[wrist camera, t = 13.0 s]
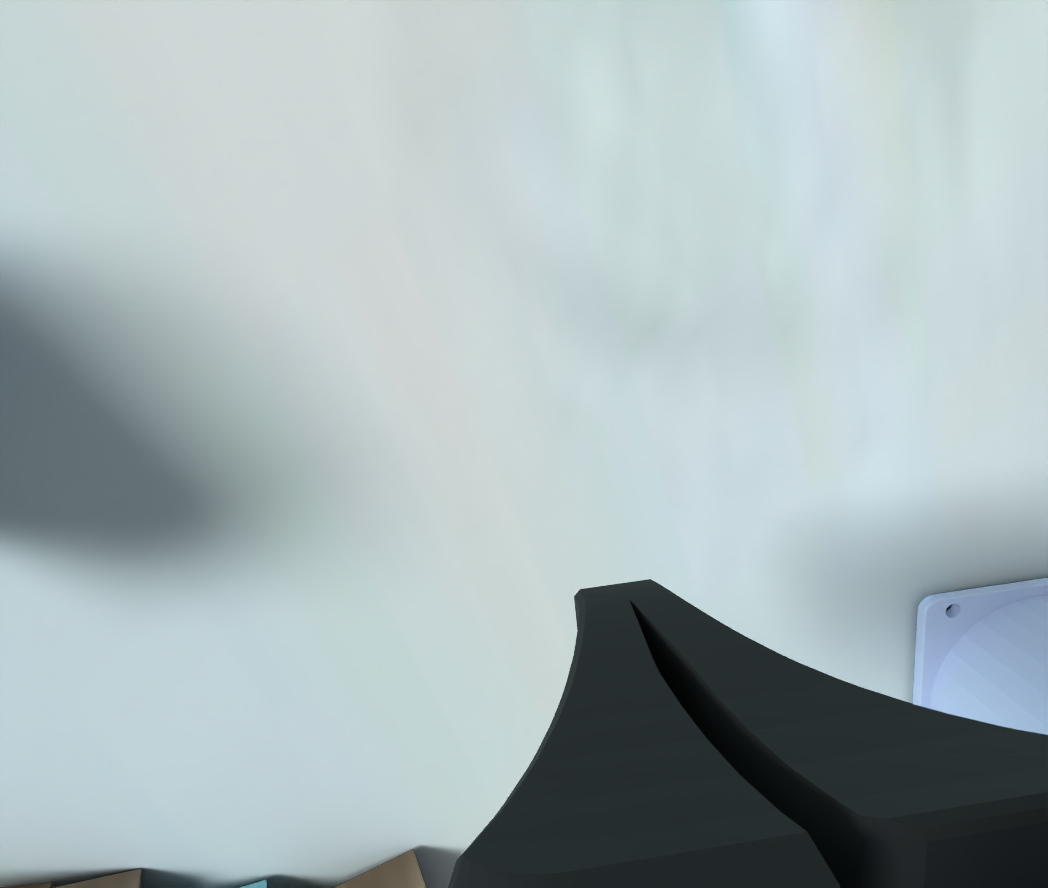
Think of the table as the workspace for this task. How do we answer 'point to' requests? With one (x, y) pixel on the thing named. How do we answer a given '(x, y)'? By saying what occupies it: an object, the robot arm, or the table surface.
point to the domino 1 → (111, 881)
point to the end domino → (33, 886)
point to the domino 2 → (257, 885)
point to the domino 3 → (391, 875)
